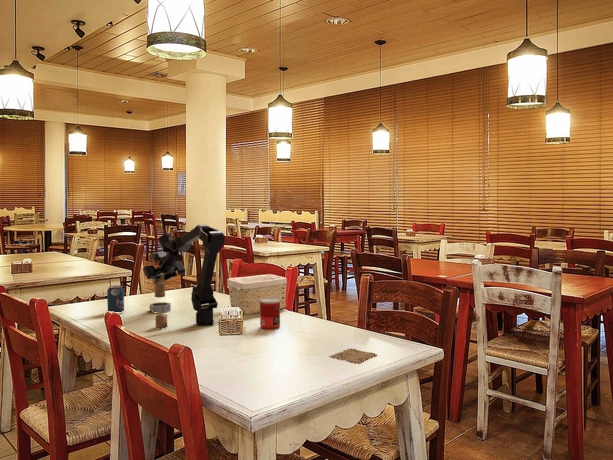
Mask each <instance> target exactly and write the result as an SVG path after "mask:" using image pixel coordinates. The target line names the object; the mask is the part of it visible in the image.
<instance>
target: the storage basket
mask: <svg viewBox="0 0 613 460" xmlns="http://www.w3.org/2000/svg"><path fill="white" fill-rule="evenodd" d="M226 281H227V287H228V294H229V302H230V308H231V307H239V308H240V309H241V310H242V311H243V313H244V314H243V315H251V314H257V313H259V314H260V300H261V299H266V298H274V299H279V300H280V310H281V309H284V308H286V296H287V295H286V294H287V293H286V291H287V286H288V281H287V277H284V276H280V275H276V274H272V273H267V274H260V275H251V276H242V277H241V276H239V277H229V278H227V279H226Z"/></svg>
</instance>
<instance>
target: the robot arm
mask: <svg viewBox="0 0 613 460" xmlns="http://www.w3.org/2000/svg"><path fill="white" fill-rule="evenodd" d="M198 240H200V241H201V242H202V247H203V249H204V255H203V259H202V260H203V261H202V266H201V271H200V276H199V281H198V284H194V285H193V286H192V291H191V294H190V296H191V298H190V299H191V300H190V301H191V305H192V308H193V310H194V311H195V324H196V326H213V325H214V323H215V320H214V309H217V308H218V304H219V303H218V302H217V299H216V298H215V295H214V290H213V288H212V281H213V277H214V274H215V273H214V272H215V267H216V266H215V265H216V263H217V257H218V254H219V252H220V251H221V250H222V249H223V247H224V244H225V241H226V236H225V234H224V233H223V231H221V230H219V229H217V228H213V227H211V226H209V225H207V224H197V225H196V226H195V227H194V228H192V229H190V231H188V232H186V233H185V234H183V235H181V236H179V237H174V238H172V235H171V233H170V232H165V233H164V234H163V235H161V236H159V237H158V238H157V241H158V244H159V245H160V248H161V250H162V251H156V252H153V253H152V254H151V259H152V260H153V261H156V262H157V263H156V264H157V266H158V267H157V268H156V267H155V266H154V265H153V264H148V265H144V267H143V268H142V271H143V273H144V275H145V277H146V279H147V280H152V284H154V283H155V282H156V281H158V280H159V279H160V276H159V275H160V274H165V282H167V281H168V280H171V279H173V278H175V277H177V276H184V275H185V273H186V268H185V266H184V264H183V263H182V261H183V260H184V257H183V254H182V253H181V252H187V251H189V249H190V248H191V245H192V244H193V243H194V242H196V241H198Z"/></svg>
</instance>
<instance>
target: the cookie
mask: <svg viewBox="0 0 613 460" xmlns="http://www.w3.org/2000/svg"><path fill="white" fill-rule="evenodd" d="M342 351H343V352H342ZM342 351H340V352H337V353H335V354H331V355H329V356H328V358H331V357H332V358H331V359H335V358H337V359H336V360H339V359H341V360H340V361H343V360H346V361H345V362H347V361H350V362H349V363H351V362H354V363H353V364H356V363H358V364H357V365H360V364H363V363H365V362H367V361H369V360H371V359H374V358H376V357H378V356H377V355H378V354H376V353H375V352H368V351H362V350H358V349H356V348H351V347H350V348H347V350H346V349H344V350H342ZM375 356H376V357H375ZM373 357H374V358H373ZM370 358H371V359H370ZM368 359H369V360H368ZM366 360H367V361H366ZM364 361H365V362H364ZM362 362H363V363H362ZM359 363H360V364H359Z"/></svg>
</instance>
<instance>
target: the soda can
mask: <svg viewBox="0 0 613 460" xmlns="http://www.w3.org/2000/svg"><path fill="white" fill-rule="evenodd" d="M124 291H125V290H124V288H123V286H122V285H118V284H117V285H109V286H108V289H107V291H106V294H107V295H106V296H107V297H106V298H107V301H106V302H107V312H108V311H114V312H122V311H123V312H124V311H125V299H124V298H125V292H124Z"/></svg>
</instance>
